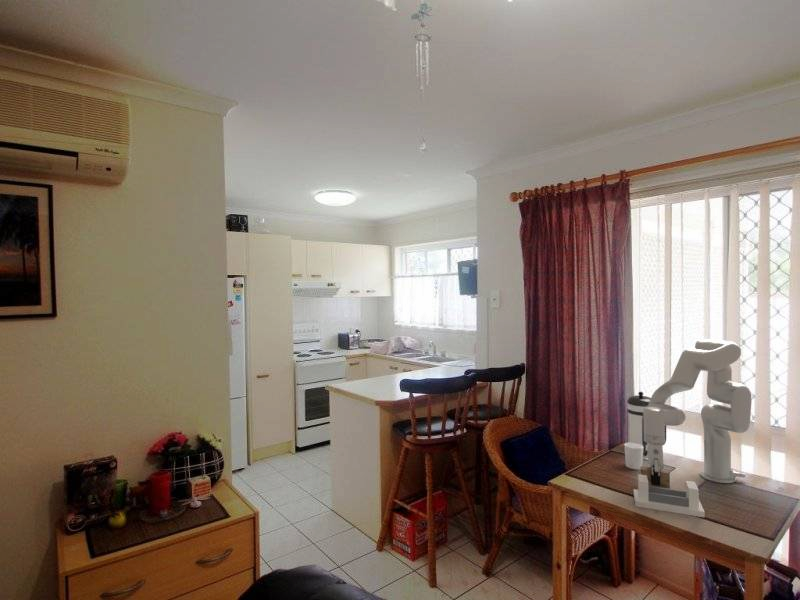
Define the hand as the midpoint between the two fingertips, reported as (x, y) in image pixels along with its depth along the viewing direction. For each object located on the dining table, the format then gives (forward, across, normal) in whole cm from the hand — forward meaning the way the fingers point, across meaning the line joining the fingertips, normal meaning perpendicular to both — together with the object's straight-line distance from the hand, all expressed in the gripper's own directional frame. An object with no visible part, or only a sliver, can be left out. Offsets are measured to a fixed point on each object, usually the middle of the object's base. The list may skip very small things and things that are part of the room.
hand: (655, 481), depth 183 cm
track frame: (+3, -13, -3) cm, 14 cm away
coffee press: (+4, +47, 0) cm, 47 cm away
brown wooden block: (+3, 0, 0) cm, 3 cm away
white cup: (+3, +23, +6) cm, 24 cm away
